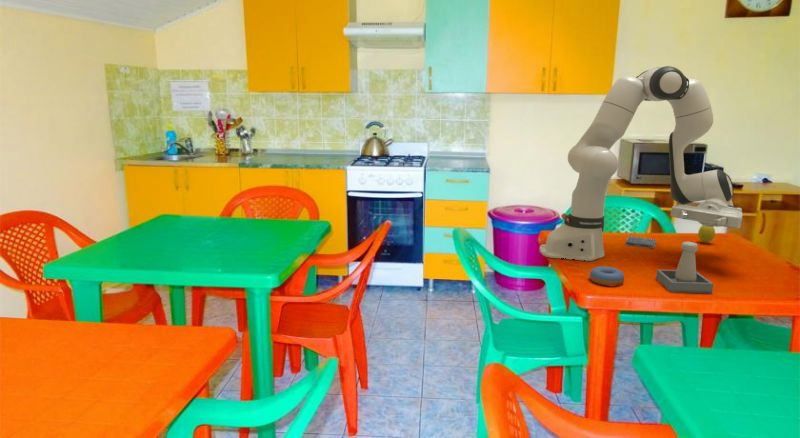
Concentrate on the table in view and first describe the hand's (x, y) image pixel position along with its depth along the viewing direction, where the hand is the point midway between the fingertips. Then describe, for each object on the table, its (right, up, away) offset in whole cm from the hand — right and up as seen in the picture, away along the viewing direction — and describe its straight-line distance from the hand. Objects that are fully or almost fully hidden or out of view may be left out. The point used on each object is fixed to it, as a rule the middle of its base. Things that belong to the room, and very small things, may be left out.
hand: (700, 219), depth 169 cm
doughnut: (-30, -20, -3) cm, 36 cm away
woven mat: (-2, -10, +38) cm, 40 cm away
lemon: (+23, -10, +39) cm, 46 cm away
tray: (-9, -20, -6) cm, 23 cm away
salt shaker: (-8, -20, -7) cm, 22 cm away
